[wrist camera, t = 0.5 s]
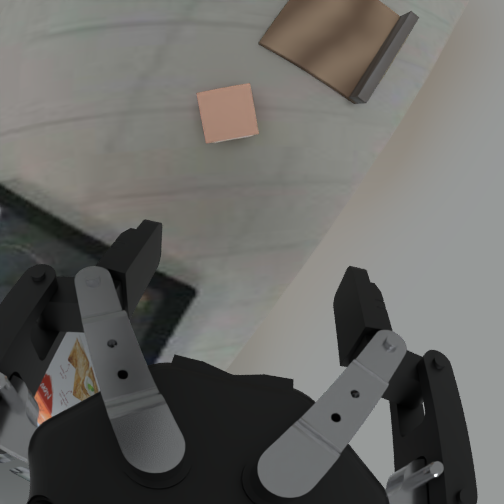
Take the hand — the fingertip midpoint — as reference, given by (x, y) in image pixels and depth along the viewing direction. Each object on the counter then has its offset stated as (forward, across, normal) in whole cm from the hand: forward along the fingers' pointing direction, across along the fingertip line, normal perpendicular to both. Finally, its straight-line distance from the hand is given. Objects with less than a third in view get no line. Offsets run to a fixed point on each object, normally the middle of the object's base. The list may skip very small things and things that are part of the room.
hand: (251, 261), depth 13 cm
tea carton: (+25, +5, -1) cm, 26 cm away
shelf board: (+29, -4, -14) cm, 32 cm away
